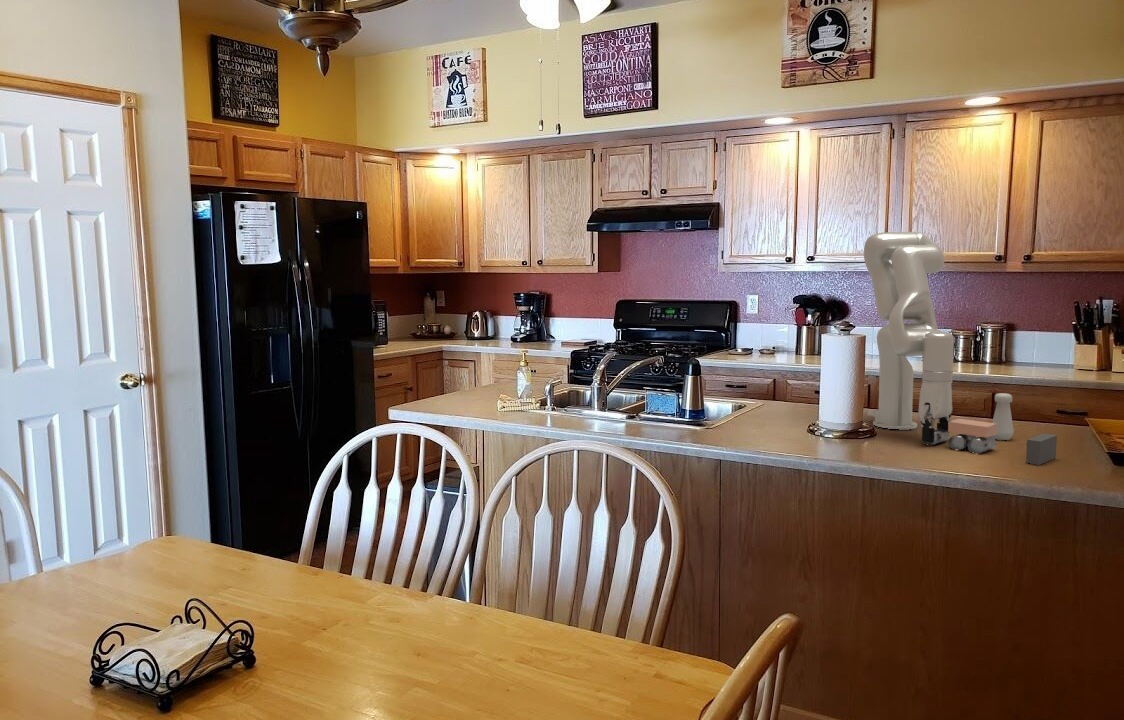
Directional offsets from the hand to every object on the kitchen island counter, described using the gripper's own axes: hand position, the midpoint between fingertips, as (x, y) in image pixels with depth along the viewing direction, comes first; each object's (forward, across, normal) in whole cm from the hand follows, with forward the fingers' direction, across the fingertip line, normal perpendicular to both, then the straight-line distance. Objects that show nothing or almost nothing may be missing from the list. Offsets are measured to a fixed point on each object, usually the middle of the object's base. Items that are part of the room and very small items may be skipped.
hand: (935, 439), depth 217 cm
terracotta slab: (-3, 0, +10) cm, 10 cm away
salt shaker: (+1, -18, +10) cm, 21 cm away
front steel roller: (+1, 0, +12) cm, 12 cm away
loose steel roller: (+1, 0, 0) cm, 1 cm away
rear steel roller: (+1, 0, +7) cm, 8 cm away
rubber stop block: (+1, 0, +27) cm, 27 cm away
